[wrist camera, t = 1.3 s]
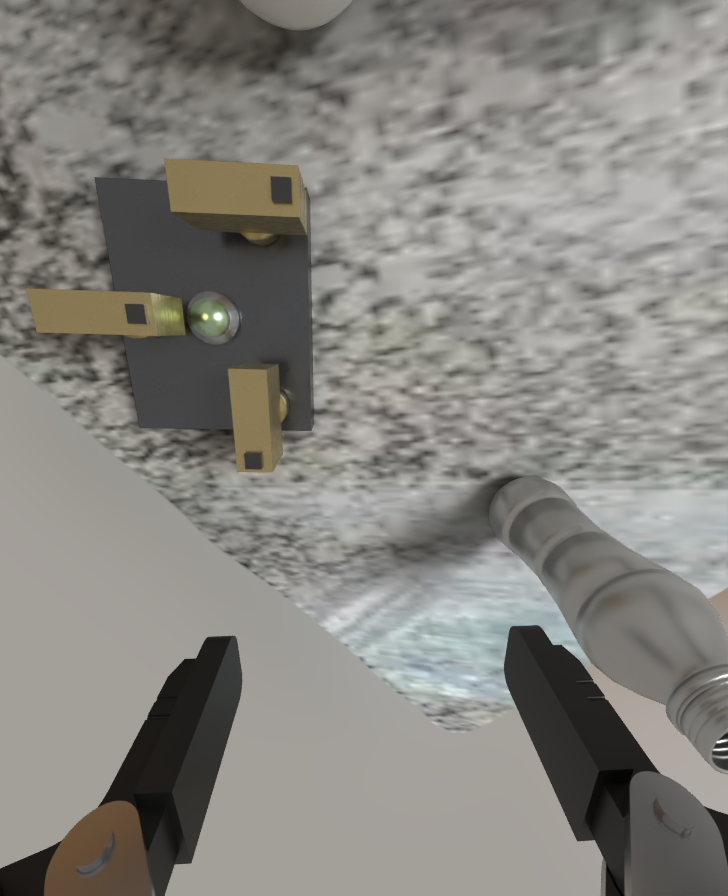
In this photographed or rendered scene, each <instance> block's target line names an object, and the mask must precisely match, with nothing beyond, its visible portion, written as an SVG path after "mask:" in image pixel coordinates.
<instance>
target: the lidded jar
mask: <svg viewBox="0 0 728 896" xmlns="http://www.w3.org/2000/svg"><path fill="white" fill-rule="evenodd" d="M239 1H240V2H241V3H242V4H243V5H244V6H246V7H247V8H248V9H249V10H250V11H251V12H253V13H254V14H255V15H257V16H258V17H259V18H261V19H263V20H264V21H266V22H268V23H270V24H272V25H275V26H278V27H282V28H285V29H289V30H308V29H313V28H316V27H319V26H322V25H324V24H326V23H328V22H329V21H331V20H333V19H334V18H336V17H337V16H338V15H339V14H341V13H342V12H343V11H344V10H345V9H346V8H347V7H348V6H349V5H350V4H351V2H352V1H353V0H239Z"/></svg>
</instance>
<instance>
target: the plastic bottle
mask: <svg viewBox="0 0 728 896" xmlns="http://www.w3.org/2000/svg"><path fill="white" fill-rule="evenodd" d="M489 520H490V523H491V526H492V528H493V531H494V533H495V535H496V536H497V538H498V539H499V540H500V541H501V542H502V543H503V544H504V545H505V546H506V547H507V548H509V549H510V550H511V551H512V552H513V553H515V554H516V555H518V556H519V557H520V558H521V559H522V560H523V561H524V562H525V564H526V565H527V566H528V567H529V568H530V569H531V570H532V571H533V572H534V573H535V574H536V575H537V576H538V578H539V579H540V580H541V582H542V583H543V585H544V586H545V587H546V589H547V591H548V592H549V593H550V595H551V596H552V598H553V599H554V601H555V602H556V604H557V605H558V607H559V609H560V611H561V613H562V614H563V616H564V618H565V620H566V622H567V623H568V625H569V627H570V629H571V631H572V632H573V634H574V636H575V638H576V639H577V641H578V643H579V645H580V646H581V648H582V650H583V651H584V653H585V654H586V656H587V657H588V659H589V660H590V662H591V663H592V664H593V665H594V666H595V667H596V668H598V669H599V670H600V671H601V672H602V673H604V674H605V675H606V676H607V677H609V678H610V679H611V680H612V681H614V682H616V683H618V684H620V685H622V686H623V687H626V688H627V689H629V690H632V691H633V692H635V693H637V694H639V695H641V696H644V697H646V698H649V699H651V700H654V701H656V702H659V703H661V704H664V705H666V714H667V716H668V718H669V720H670V721H671V722H672V724H673V725H674V726H675V727H676V729H677V730H678V731H679V732H681V733H682V734H683V735H685V736H686V737H687V738H688V739H689V741H690V742H691V743H692V744H693V746H694V747H695V748H696V750H697V751H698V752H699V753H700V754H701V756H702V757H703V758H704V759H705V761H706V762H708V763H709V764H710V765H711V766H712V767H713V768H714V769H715V770H716V771H718V772H721V773H724V774H728V636H727V633H726V630H725V628H724V625H723V623H722V620H721V617H720V615H719V613H718V611H717V610H716V609H715V607H714V606H713V605H712V604H711V603H710V601H709V600H708V599H707V598H706V596H705V595H704V594H703V593H702V592H701V591H700V590H699V589H698V588H697V587H695V586H693V585H692V584H690V583H689V582H687V581H686V580H684V579H683V578H681V577H679V576H678V575H676V574H675V573H672V572H670V571H669V570H667V569H665V568H664V567H662V566H660V565H658V564H656V563H654V562H653V561H651V560H649V559H647V558H645V557H644V556H642V555H640V554H638V553H636V552H635V551H633V550H631V549H630V548H628V547H627V546H625V545H624V544H622V543H621V542H619V541H618V540H616V539H615V538H613V537H612V536H610V535H609V534H608V533H606V532H605V531H603V530H602V529H600V528H599V527H598V526H597V525H596V524H595V523H594V522H593V521H591V520H590V519H589V518H588V517H587V516H586V515H585V514H584V513H583V512H582V511H581V510H580V509H579V508H578V507H577V505H576V504H575V503H574V501H573V500H572V499H571V498H570V497H569V496H568V495H567V494H566V493H565V492H564V491H563V489H562V488H561V487H559V486H558V485H556V484H554V483H552V482H550V481H547V480H545V479H542V478H539V477H532V476H531V477H522V478H518V479H515V480H513V481H510V482H508V483H507V484H505V485H504V486H503V487H501V488H500V489H499V490H498V492H497V493H496V494H495V496H494V498H493V499H492V501H491V504H490V507H489Z"/></svg>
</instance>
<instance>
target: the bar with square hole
mask: <svg viewBox="0 0 728 896" xmlns="http://www.w3.org/2000/svg"><path fill="white" fill-rule="evenodd" d="M26 291H27V295H28V299H29V303H30V307H31V311H32V315H33V319H34V323H35V327H36V331H37V332H39V333H74V334H109V335H125V336H127V337H130V338H156V337H159V336H171V335H186V332H185V324H184V316H183V308H182V301H181V298H176V297H171V296H165V295H160V294H155V293H145V292H115V291H86V290H56V289H27V288H26Z"/></svg>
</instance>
